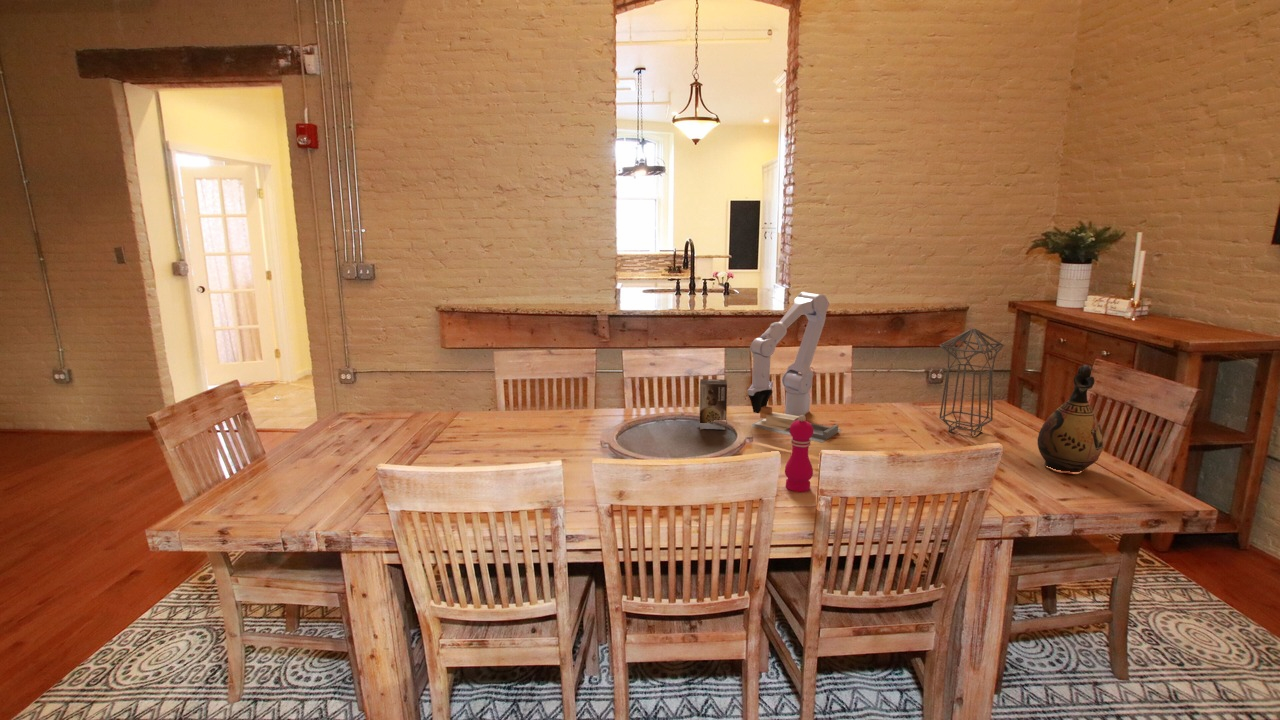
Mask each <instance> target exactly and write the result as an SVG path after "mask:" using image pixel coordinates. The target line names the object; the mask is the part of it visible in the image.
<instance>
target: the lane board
mask: <svg viewBox="0 0 1280 720" xmlns="http://www.w3.org/2000/svg"><path fill="white" fill-rule="evenodd" d="M809 423H810V424H811V425H812V427H813V435H812V437H811V438H810V440H811V441H813V442H817V443H824V442H826V441H828V440H829V439H830V438H832V437H833V436H835V435H836V434H838V433H840V432H841V431H842V429H840V428H839V424H834V425H832V426H827V425H823V424H817V423H812V422H809ZM749 427H752V428H757V429H760V430H765V431H768V432H773V433H777V434H778V433H779V434H782V435H787V436H791V434H790V428H786V427H781V426H775V425H769V424H766V419H765V418H761V419H760V420H758V421H756V422H754V423H752V424H750V425H749Z"/></svg>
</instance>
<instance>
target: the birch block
mask: <svg viewBox="0 0 1280 720" xmlns="http://www.w3.org/2000/svg"><path fill="white" fill-rule="evenodd" d="M759 414H760V415H759V417H760V419H763V418H765V419H766V424H769V425H775V426H781V427H786V428H790V426H791V424H792V423H793V422H795V421H797V420H799V416H794V415H788V414H785V413H781V412H776V411H773V406H768V405H767V406H763V407H761V410H760V413H759Z"/></svg>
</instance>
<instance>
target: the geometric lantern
mask: <svg viewBox="0 0 1280 720" xmlns="http://www.w3.org/2000/svg"><path fill="white" fill-rule="evenodd" d="M972 335H973V336H974V338H975V340H976V342H975V341H974V342H973V341H971V338H972ZM967 338H968V339H967ZM986 338H987V339H989V340H991V342H992V343H990V342H989V340H987V339H986ZM960 341H961V342H960ZM958 342H960V343H959V344H958ZM981 342H982V343H981ZM957 344H958V345H957ZM963 344H965V347H964V349H962V348H960V347H961V346H962V345H963ZM970 344H972V345H977V348H976V349H975V348H974V347H973V346H972V345H970ZM956 345H957V347H956ZM983 346H984V347H985V348H986V349H985V350H984V348H983ZM939 347H941V349H943V350H944V351H945V352H947V369H946V374H945V379H944V380H945V381H944V387H943V394H942V398H941V404H940V405H941V406H940V409H939V412H940V413H939V420H941V421H942V422H944V423H945V425H947V427H948V432H949V431H950V432H949V433H951V432H953V433H952V434H956V433H957V432H956V431H953V430H954V429H959V430H964V431H968V432H970V436H974V435H976V432H977V431H976V430H980V431H982V432H983V427H985V426H986V425H988V424H989V423H991V422H993V420H994V419H993V418H994V417H993V415H994V410H993V401H994V399H993V389H994V387H993V371H994V367H995V362H996V358H997V354H999V352H1000V351H1001V350H1002V349H1003V347H1005V344H1003V343H1001V342H999V341H998V340H996V339H994V338H993V337H991V336H989V335H987V334H986V333H984V332H982V331H981V330H979V329H977V328H969V329H968V330H966V331H964V332H962V333H960V334H958V335H956V336H955V337H953V338H950V339H949V340H947V341H945V342H943V343H941V344H939ZM968 347H969V348H970V349H971V350H969V349H968ZM950 349H951V351H950ZM957 351H959V352H963V356H961V357H960V356H958V354H957ZM993 351H994V352H995V353H994V354H993ZM966 353H972V354H969V355H967V356H966ZM979 354H981V355H984V357H985V359H986V362H985V364H984V365H976V364H971V363H970V361H971V360H972V359H973V357H974V356H976V355H979ZM950 356H952V357H953V358H954V361H953V362H952V363H951V365H950ZM960 360H965V361H966V362H965V363H961V362H960ZM991 360H992V365H991V364H990V363H989V361H991ZM956 361H958V363H957V364H954V363H955V362H956ZM987 364H988V366H986V365H987ZM956 366H957V367H958V369H953V368H954V367H956ZM961 366H964V368H963V370H960V369H961ZM967 366H969V367H970V369H971V371H972V372H970V371H967ZM973 367H975V368H976V367H977V368H981V370H980V371H979V372H976V371H975V368H973ZM984 369H988V370H986V371H983V370H984ZM950 371H952V372H953V371H954V372H957V374H956V375H957V376H956V382H955V388H954V397H953V403H952V408H951V411H950V412H949V413H946V412H947V401H948V390H949V389H948V388H949V379H950ZM960 372H961V373H963V378H962V385H961V386H962V388H961V398H960V408H959V411H958V410H957V411H956V410H955V407H956V398H957V393H958V392H957V390H958V385H959V377H960ZM986 373H989V375H988V390H987V407H986V415H981V414H982V412H981V411H982V409H981V408H982V406H981V405H982V375H983V374H986ZM966 374H973V375H972V389H971V404H970V405H971V407H970V408H971V409H970V413H969V412H964V411H963V400H964V390H965V383H966V382H965V380H966ZM976 375H978V376H979V377H978V378H979V381H978V383H979V385H978V414H976V413H974V402H975V401H974V399H975V383H976V382H975V381H976ZM989 412H990V417H989ZM942 414H943V415H942ZM952 414H953V417H954V419H955V421H953V420H949V419H946V417H947V416H951V415H952ZM956 414H959V417H958V420H957V417H956ZM962 415H970V422H968V421H964V420H963V421H961V416H962ZM973 416H975V417H978V423H975V422H973V420H974V417H973ZM981 418H984V420H982V419H981ZM981 420H982V421H981ZM950 423H951V424H950ZM954 424H955V426H953V425H954ZM962 427H964V428H962ZM967 428H971V429H967ZM973 429H975V430H973ZM973 432H974V433H973ZM958 433H959V434H958V435H960V434H962V433H960V432H958Z"/></svg>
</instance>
